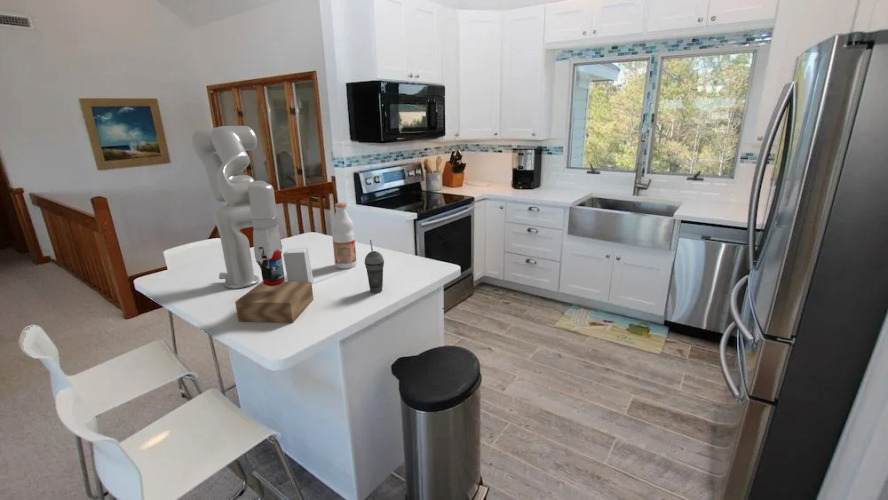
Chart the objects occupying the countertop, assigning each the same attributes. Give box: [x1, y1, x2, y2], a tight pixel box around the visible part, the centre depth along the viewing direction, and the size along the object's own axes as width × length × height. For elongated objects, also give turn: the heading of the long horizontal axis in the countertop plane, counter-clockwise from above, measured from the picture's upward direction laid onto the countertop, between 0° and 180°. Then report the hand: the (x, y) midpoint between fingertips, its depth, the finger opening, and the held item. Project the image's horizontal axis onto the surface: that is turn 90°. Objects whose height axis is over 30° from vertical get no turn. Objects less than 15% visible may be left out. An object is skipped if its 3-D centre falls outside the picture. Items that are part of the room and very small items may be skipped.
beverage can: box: [262, 249, 286, 286], centre depth 136 cm, size 7×7×12 cm
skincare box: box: [282, 247, 314, 285], centre depth 159 cm, size 8×6×15 cm
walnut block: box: [235, 280, 315, 324], centre depth 140 cm, size 18×18×7 cm
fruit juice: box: [331, 202, 357, 270], centre depth 180 cm, size 9×9×28 cm
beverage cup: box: [364, 239, 385, 294], centre depth 153 cm, size 7×7×20 cm
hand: (273, 274), depth 137 cm, fingers closed on beverage can, 6 cm apart
